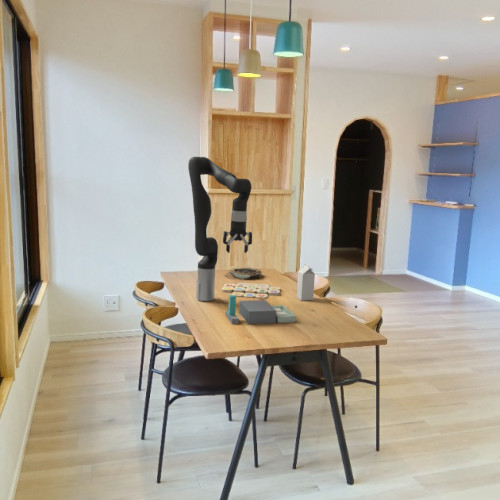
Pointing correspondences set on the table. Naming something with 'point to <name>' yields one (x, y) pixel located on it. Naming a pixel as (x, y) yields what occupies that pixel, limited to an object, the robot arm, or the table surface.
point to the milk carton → (305, 283)
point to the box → (285, 319)
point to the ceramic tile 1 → (281, 313)
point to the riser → (257, 312)
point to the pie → (246, 273)
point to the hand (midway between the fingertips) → (236, 252)
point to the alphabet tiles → (251, 290)
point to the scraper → (232, 310)
